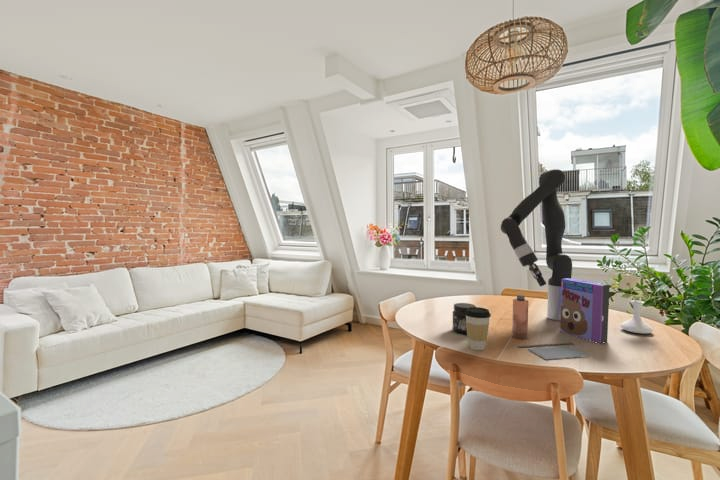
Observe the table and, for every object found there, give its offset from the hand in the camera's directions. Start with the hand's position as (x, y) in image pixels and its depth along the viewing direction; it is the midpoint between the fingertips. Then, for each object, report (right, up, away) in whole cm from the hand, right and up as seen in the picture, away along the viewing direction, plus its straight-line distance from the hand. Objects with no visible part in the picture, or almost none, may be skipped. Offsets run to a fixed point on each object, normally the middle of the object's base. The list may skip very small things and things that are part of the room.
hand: (543, 285), depth 164 cm
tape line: (-12, -21, -25) cm, 35 cm away
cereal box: (+9, -20, -15) cm, 27 cm away
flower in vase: (+36, -20, -8) cm, 42 cm away
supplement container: (-40, -20, -7) cm, 45 cm away
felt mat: (-12, -21, -33) cm, 41 cm away
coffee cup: (-41, -21, -27) cm, 53 cm away
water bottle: (-18, -20, -15) cm, 31 cm away
